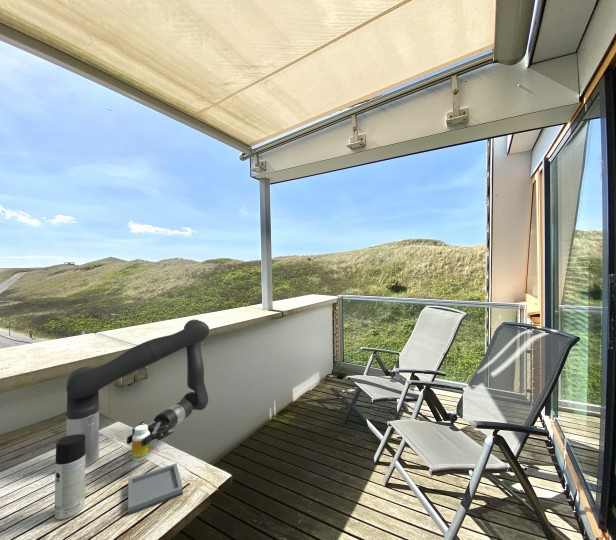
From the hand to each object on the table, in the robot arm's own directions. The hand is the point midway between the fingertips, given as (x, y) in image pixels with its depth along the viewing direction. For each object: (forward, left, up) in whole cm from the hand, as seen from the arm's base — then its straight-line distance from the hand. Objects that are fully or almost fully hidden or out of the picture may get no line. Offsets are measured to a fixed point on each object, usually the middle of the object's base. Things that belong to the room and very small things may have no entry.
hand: (135, 442), depth 97 cm
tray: (+5, -11, -11) cm, 16 cm away
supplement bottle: (+2, +2, -6) cm, 7 cm away
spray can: (-16, -7, -11) cm, 21 cm away
